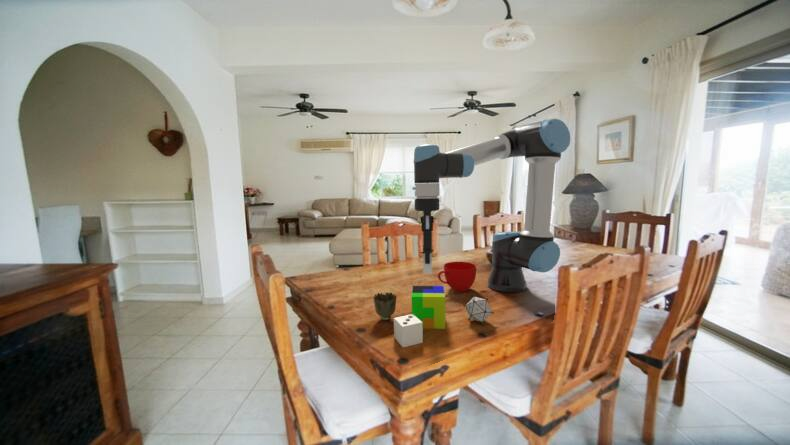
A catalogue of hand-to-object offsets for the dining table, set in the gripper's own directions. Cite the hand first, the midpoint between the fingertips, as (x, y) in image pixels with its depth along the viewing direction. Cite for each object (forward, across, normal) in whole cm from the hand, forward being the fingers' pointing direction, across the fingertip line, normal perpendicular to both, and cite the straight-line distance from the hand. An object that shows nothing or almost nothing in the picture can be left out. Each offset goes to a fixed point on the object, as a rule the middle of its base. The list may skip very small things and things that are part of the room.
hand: (427, 272), depth 96 cm
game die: (+16, 0, +16) cm, 23 cm away
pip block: (+16, +12, -6) cm, 21 cm away
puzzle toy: (+16, 0, 0) cm, 16 cm away
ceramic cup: (+16, -29, +12) cm, 35 cm away
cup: (+16, -1, -14) cm, 21 cm away
